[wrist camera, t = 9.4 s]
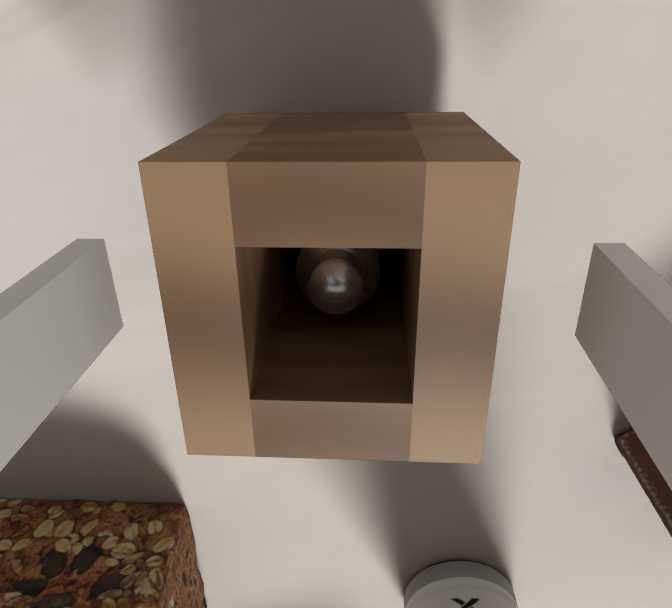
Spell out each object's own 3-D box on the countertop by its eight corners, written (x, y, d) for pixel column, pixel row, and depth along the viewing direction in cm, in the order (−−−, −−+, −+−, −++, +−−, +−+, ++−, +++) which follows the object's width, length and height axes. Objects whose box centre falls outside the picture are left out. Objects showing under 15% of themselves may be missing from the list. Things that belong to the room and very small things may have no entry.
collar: (227, 113, 19) (137, 162, 12) (463, 111, 18) (520, 161, 11) (247, 319, 22) (187, 454, 15) (445, 323, 22) (480, 463, 15)
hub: (319, 74, 20) (293, 94, 14) (480, 192, 22) (527, 261, 15) (220, 237, 23) (160, 316, 17) (368, 330, 25) (366, 436, 18)
